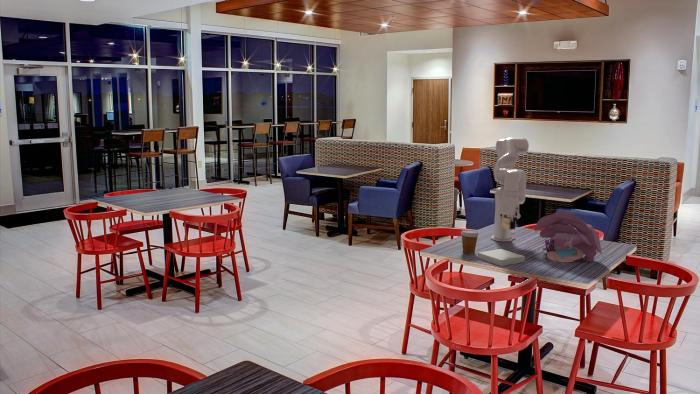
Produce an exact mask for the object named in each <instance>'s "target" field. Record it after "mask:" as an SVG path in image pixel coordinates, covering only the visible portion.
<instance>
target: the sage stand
mask: <svg viewBox="0 0 700 394" xmlns="http://www.w3.org/2000/svg"><path fill="white" fill-rule="evenodd" d="M477 259H478V260H483V261H484V262H485V261H486V262H488V263H492V264H493V265H498V266H500V267H503V266H509V265H514V264H519V263H525V259H526V257H525V255H522V254H519V253H516V252H512V251H509V250H505V249H502V248H498V249H491V250H484V251H480V252H479V251H478V252H477Z"/></svg>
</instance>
